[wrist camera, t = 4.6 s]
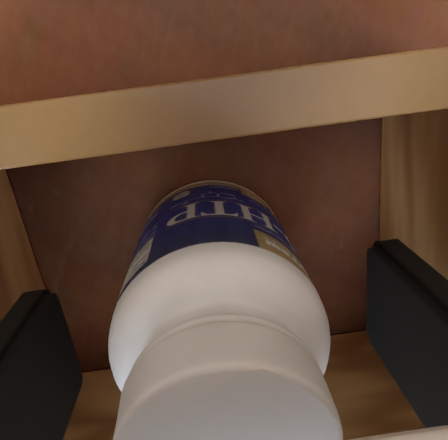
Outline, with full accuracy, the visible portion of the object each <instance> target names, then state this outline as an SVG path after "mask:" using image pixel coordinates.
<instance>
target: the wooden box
mask: <svg viewBox="0 0 448 440" xmlns="http://www.w3.org/2000/svg"><path fill="white" fill-rule="evenodd" d="M375 118H382V148H381V192H380V236H379V241H383V240H390V239H398V240H400V241H401V242H402V243H404V244H405V245H406V246H407V247H408V248H410V249H411V250H412V251H413V252H414V253H416V254H417V255H418V256H419V257H420V258H422V259H423V260H424V261H425V262H427V263H428V264H429V265H430V266H431V267H433V268H434V269H435V270H436V271H437V272H439V273H440V274H441V275H442V276H443V277H445V278H446V279H447V280H448V46H442V47H434V48H427V49H419V50H412V51H404V52H397V53H389V54H382V55H374V56H367V57H359V58H352V59H344V60H337V61H329V62H321V63H314V64H306V65H299V66H291V67H284V68H276V69H269V70H261V71H254V72H246V73H239V74H231V75H224V76H216V77H209V78H201V79H194V80H186V81H179V82H171V83H164V84H156V85H149V86H141V87H134V88H126V89H119V90H111V91H104V92H96V93H89V94H81V95H74V96H66V97H59V98H51V99H44V100H36V101H29V102H21V103H14V104H6V105H0V322H1V320H2V319H3V318H4V317H5V315H6V314H7V313H8V311H9V310H10V309H11V307H12V306H13V305H14V304H15V302H16V301H17V300H18V298H19V297H20V296H21V294H22V293H24V292H28V291H35V290H42V289H45V287H44V284H43V281H42V278H41V275H40V272H39V269H38V266H37V263H36V260H35V257H34V254H33V251H32V248H31V245H30V242H29V239H28V236H27V233H26V230H25V227H24V224H23V221H22V218H21V215H20V212H19V209H18V206H17V203H16V200H15V197H14V194H13V191H12V188H11V185H10V182H9V179H8V176H7V173H6V170H5V169H10V168H18V167H25V166H32V165H40V164H47V163H54V162H61V161H69V160H76V159H83V158H91V157H98V156H105V155H113V154H120V153H127V152H134V151H142V150H149V149H156V148H164V147H171V146H178V145H185V144H193V143H200V142H207V141H215V140H222V139H229V138H237V137H244V136H251V135H258V134H266V133H273V132H280V131H288V130H295V129H302V128H310V127H317V126H324V125H331V124H339V123H346V122H353V121H361V120H368V119H375ZM330 337H331V343H330V353H329V359H328V363H327V367H326V371H325V373H324V375H323V377H324V379H325V381H326V384H327V386H328V388H329V391H330V393H331V396H332V399H333V401H334V404H335V406H336V409H337V411H338V414H339V418H340V421H341V425H342V430H343V440H349V439H355V438H362V437H369V436H376V435H382V434H389V433H396V432H402V431H409V430H416V429H423V428H425V427H424V425H423V424H422V422H421V421H420V419H419V418H418V416H417V414H416V413H415V411H414V410H413V408H412V407H411V405H410V404H409V402H408V401H407V399H406V397H405V396H404V394H403V393H402V391H401V390H400V388H399V387H398V385H397V383H396V382H395V380H394V379H393V377H392V376H391V374H390V373H389V371H388V370H387V368H386V366H385V365H384V363H383V362H382V360H381V359H380V357H379V356H378V354H377V353H376V351H375V349H374V348H373V346H372V345H371V343H370V341H369V339H368V336H367V330H364V331H358V332H351V333H344V334H338V335H331V336H330ZM82 375H83V382H82V387H81V390H80V392H79V395H78V398H77V401H76V404H75V406H74V409H73V412H72V415H71V418H70V421H69V423H68V426H67V429H66V432H65V435H64V437H63V440H113V436H114V432H115V426H116V421H117V416H118V410H119V404H120V398H121V391H120V389H119V388H118V386H117V384H116V381H115V379H114V376H113V373H112V370H111V369H105V370H98V371H92V372H85V373H82Z"/></svg>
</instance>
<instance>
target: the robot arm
mask: <svg viewBox="0 0 448 440" xmlns="http://www.w3.org/2000/svg"><path fill="white" fill-rule="evenodd" d="M366 330H367V336H368V339H369V341H370V343H371V345H372V346H373V348H374V349H375V351H376V353H377V354H378V356H379V357H380V359H381V360H382V362H383V363H384V365H385V366H386V368H387V370H388V371H389V373H390V374H391V376H392V377H393V379H394V380H395V382H396V383H397V385H398V387H399V388H400V390H401V391H402V393H403V394H404V396H405V397H406V399H407V401H408V402H409V404H410V405H411V407H412V408H413V410H414V411H415V413H416V414H417V416H418V418H419V419H420V421H421V422H422V424H423V425H424V427H425V428H423V429H416V430H409V431H402V432H396V433H389V434H382V435H376V436H369V437H362V438H355V439H349V440H448V280H447V279H446V278H445V277H443V276H442V275H441V274H440V273H439V272H437V271H436V270H435V269H434V268H433V267H431V266H430V265H429V264H428V263H427V262H425V261H424V260H423V259H422V258H420V257H419V256H418V255H417V254H416V253H414V252H413V251H412V250H411V249H410V248H408V247H407V246H406V245H405V244H404V243H402V242H401V241H400V240H398V239H390V240H383V241H376V242H375V243H374V245H373V247H371V248H369V249H368V251H367V319H366ZM82 382H83V375H82V370H81V367H80V364H79V361H78V358H77V355H76V352H75V348H74V345H73V342H72V339H71V336H70V333H69V330H68V327H67V324H66V321H65V317H64V314H63V311H62V308H61V305H60V302H59V299H58V296H57V295H56V294H55V293H52V294H51V293H50V291H49V290H47V289H42V290H35V291H28V292H24V293H22V294H21V296H20V297H19V298H18V300H17V301H16V302H15V304H14V305H13V306H12V307H11V309H10V310H9V311H8V313H7V314H6V315H5V317H4V318H3V319H2V320H1V322H0V440H63V437H64V435H65V432H66V429H67V426H68V423H69V421H70V418H71V415H72V412H73V409H74V406H75V404H76V401H77V398H78V395H79V392H80V390H81V387H82Z"/></svg>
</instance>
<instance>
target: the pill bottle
mask: <svg viewBox="0 0 448 440" xmlns="http://www.w3.org/2000/svg"><path fill="white" fill-rule="evenodd" d="M330 343H331V337H330V327H329V322H328V317H327V314H326V311H325V308H324V306H323V303H322V301H321V299H320V297H319V294H318V292H317V290H316V289H315V287H314V285H313V283H312V281H311V279H310V278H309V276H308V274H307V272H306V270H305V269H304V267H303V265H302V263H301V261H300V259H299V257H298V255H297V253H296V252H295V250H294V248H293V247H292V245H291V243H290V241H289V239H288V238H287V236H286V234H285V232H284V230H283V228H282V227H281V225H280V223H279V221H278V219H277V217H276V216H275V214H274V212H273V211H272V209H271V208H270V207H269V206H268V204H267V203H266V202H265V201H264V200H263V199H262V198H260V197H259V196H258V195H256V194H255V193H254V192H252V191H250V190H249V189H247V188H245V187H243V186H241V185H238V184H235V183H232V182H227V181H221V180H206V181H199V182H194V183H191V184H187V185H185V186H183V187H180V188H178V189H176V190H174V191H173V192H171V193H170V194H168V195H167V196H166V197H164V198H163V199H162V200H161V201H160V202H159V203H158V204H157V205H156V207H155V208H154V209H153V210H152V212H151V213H150V215H149V217H148V218H147V221H146V223H145V225H144V227H143V230H142V232H141V235H140V238H139V241H138V244H137V247H136V249H135V252H134V255H133V258H132V260H131V263H130V266H129V269H128V272H127V275H126V277H125V280H124V283H123V286H122V289H121V291H120V295H119V298H118V300H117V303H116V306H115V309H114V312H113V317H112V321H111V325H110V330H109V339H108V352H109V362H110V366H111V370H112V373H113V376H114V379H115V381H116V384H117V386H118V388H119V389H120V391H121V398H120V404H119V410H118V416H117V421H116V426H115V432H114V436H113V440H343V430H342V425H341V421H340V418H339V414H338V411H337V409H336V406H335V404H334V401H333V399H332V396H331V393H330V391H329V388H328V386H327V384H326V381H325V379H324V377H323V375H324V373H325V371H326V367H327V363H328V359H329V353H330Z"/></svg>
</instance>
